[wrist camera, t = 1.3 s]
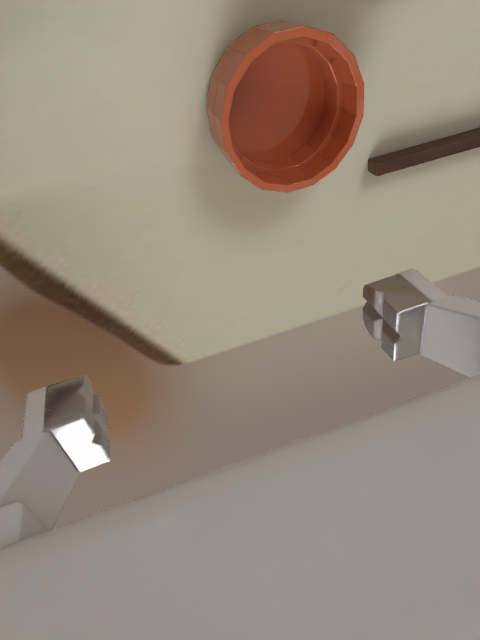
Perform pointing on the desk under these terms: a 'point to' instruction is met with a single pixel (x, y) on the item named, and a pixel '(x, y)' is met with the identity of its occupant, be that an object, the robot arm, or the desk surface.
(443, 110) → the desk surface
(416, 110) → the desk surface
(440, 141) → the frame
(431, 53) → the desk surface
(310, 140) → the bowl
